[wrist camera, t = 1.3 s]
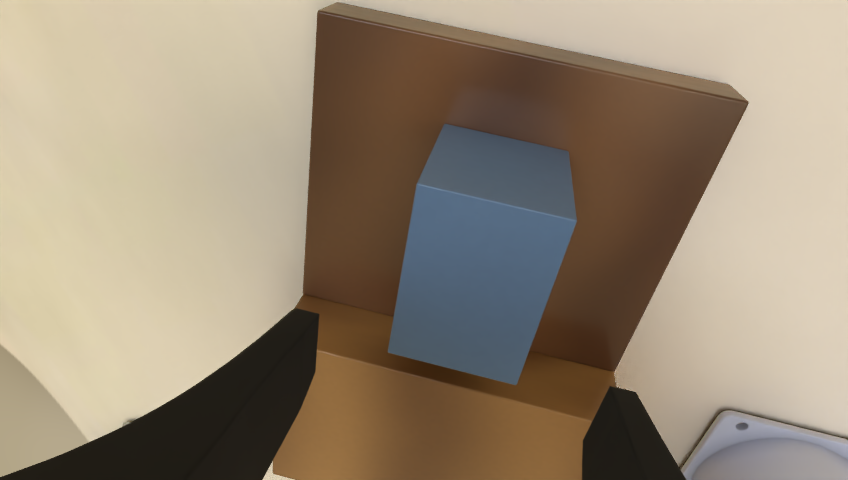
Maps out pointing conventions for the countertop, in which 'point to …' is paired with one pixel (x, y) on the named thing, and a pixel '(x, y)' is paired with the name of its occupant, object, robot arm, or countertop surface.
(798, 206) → the countertop surface
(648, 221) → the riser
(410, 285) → the blue box
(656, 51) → the countertop surface
